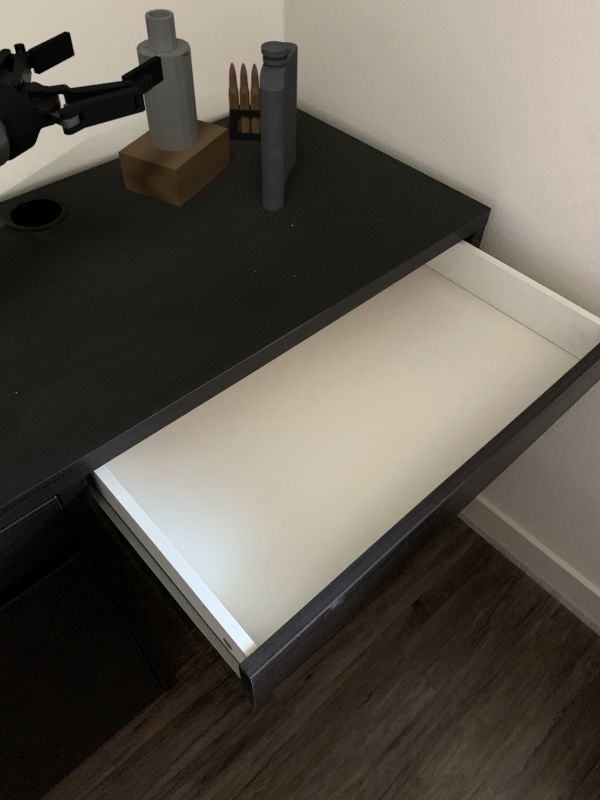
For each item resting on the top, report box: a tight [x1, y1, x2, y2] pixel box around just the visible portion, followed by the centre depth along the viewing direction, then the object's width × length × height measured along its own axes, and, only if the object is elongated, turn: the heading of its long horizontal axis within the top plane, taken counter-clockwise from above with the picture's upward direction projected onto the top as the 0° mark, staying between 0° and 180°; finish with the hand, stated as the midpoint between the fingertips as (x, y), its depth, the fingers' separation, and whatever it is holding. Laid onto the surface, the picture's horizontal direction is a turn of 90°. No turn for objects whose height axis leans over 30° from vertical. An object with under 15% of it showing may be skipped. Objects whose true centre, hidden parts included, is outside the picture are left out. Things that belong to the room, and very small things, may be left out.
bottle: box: [135, 8, 199, 151], centre depth 92 cm, size 7×7×17 cm
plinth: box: [117, 119, 231, 208], centre depth 100 cm, size 10×14×6 cm
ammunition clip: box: [228, 62, 261, 142], centre depth 107 cm, size 11×2×12 cm, turn 87°
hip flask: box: [259, 40, 299, 213], centre depth 95 cm, size 16×4×20 cm, turn 172°
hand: (114, 55), depth 81 cm, fingers open, 13 cm apart
